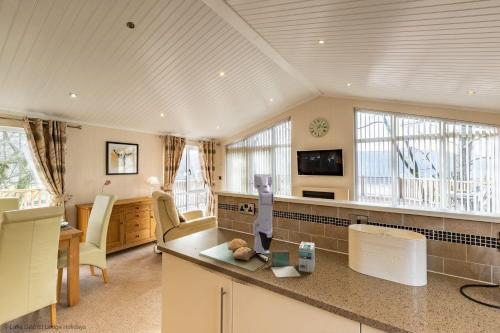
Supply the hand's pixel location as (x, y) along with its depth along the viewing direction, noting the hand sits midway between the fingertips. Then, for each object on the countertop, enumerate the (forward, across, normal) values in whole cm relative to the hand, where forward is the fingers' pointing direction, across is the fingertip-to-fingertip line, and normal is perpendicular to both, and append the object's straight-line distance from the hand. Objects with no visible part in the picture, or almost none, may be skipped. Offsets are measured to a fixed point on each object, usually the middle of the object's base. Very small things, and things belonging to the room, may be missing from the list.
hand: (265, 248), depth 110 cm
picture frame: (+10, -6, +9) cm, 15 cm away
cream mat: (+10, +2, +9) cm, 14 cm away
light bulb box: (+11, -2, +21) cm, 24 cm away
